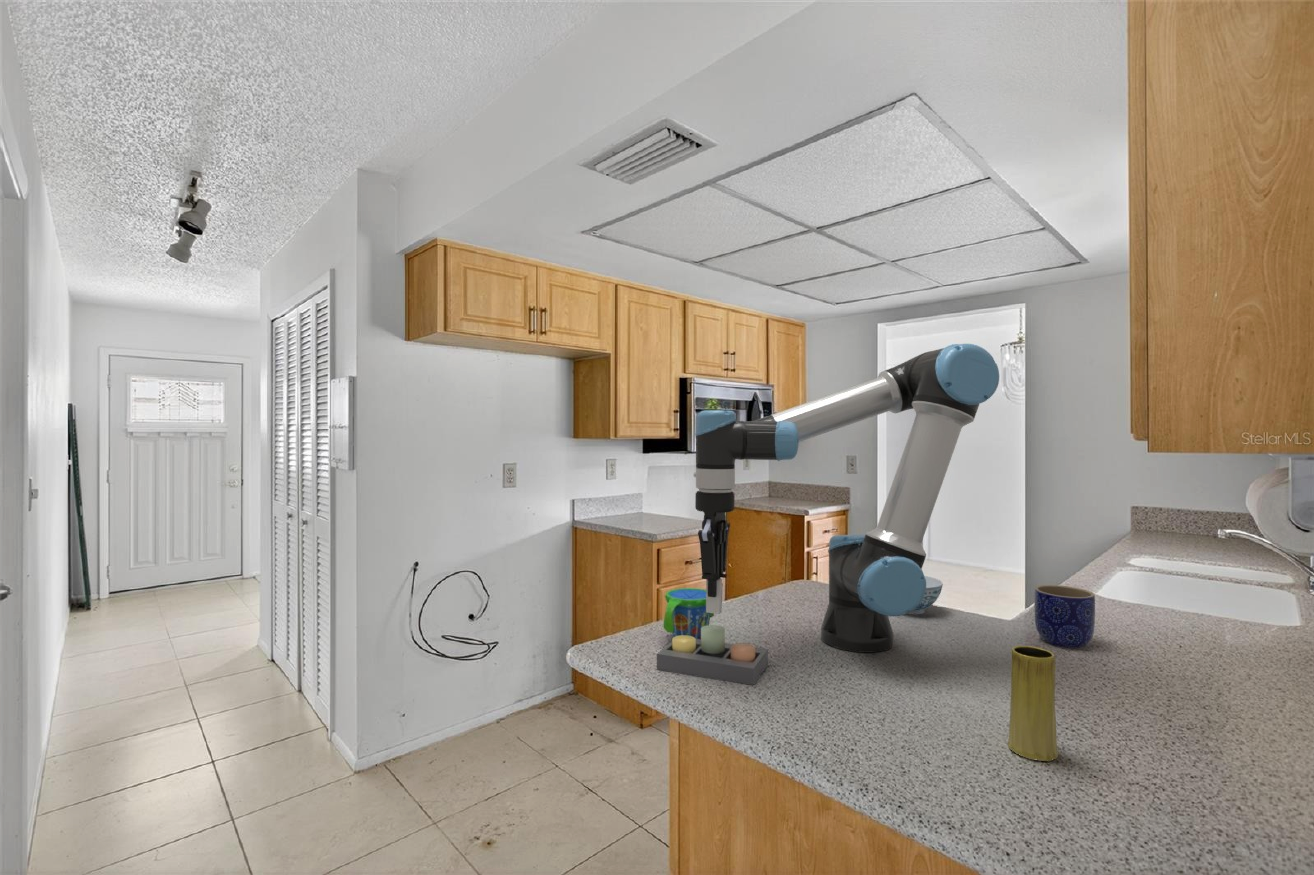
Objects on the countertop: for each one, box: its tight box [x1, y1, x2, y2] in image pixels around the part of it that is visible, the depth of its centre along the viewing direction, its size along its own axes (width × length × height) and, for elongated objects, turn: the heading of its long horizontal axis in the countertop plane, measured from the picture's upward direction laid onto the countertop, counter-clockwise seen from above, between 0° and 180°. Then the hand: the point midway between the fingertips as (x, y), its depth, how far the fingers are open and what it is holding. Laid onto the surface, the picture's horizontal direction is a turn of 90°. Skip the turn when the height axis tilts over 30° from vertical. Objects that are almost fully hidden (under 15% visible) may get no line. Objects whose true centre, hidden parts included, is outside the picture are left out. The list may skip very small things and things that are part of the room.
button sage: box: [701, 624, 726, 654], centre depth 121 cm, size 5×5×4 cm
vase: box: [1007, 645, 1059, 762], centre depth 89 cm, size 6×6×14 cm
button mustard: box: [671, 635, 696, 653], centre depth 124 cm, size 5×5×4 cm
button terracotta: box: [731, 642, 756, 663], centre depth 119 cm, size 5×5×4 cm
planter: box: [1033, 584, 1096, 649], centre depth 134 cm, size 11×11×11 cm
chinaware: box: [905, 575, 943, 615], centre depth 159 cm, size 15×15×8 cm
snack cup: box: [663, 587, 715, 640], centre depth 137 cm, size 16×10×10 cm
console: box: [656, 639, 769, 686], centre depth 121 cm, size 19×11×3 cm, turn 66°
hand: (713, 612), depth 121 cm, fingers closed
